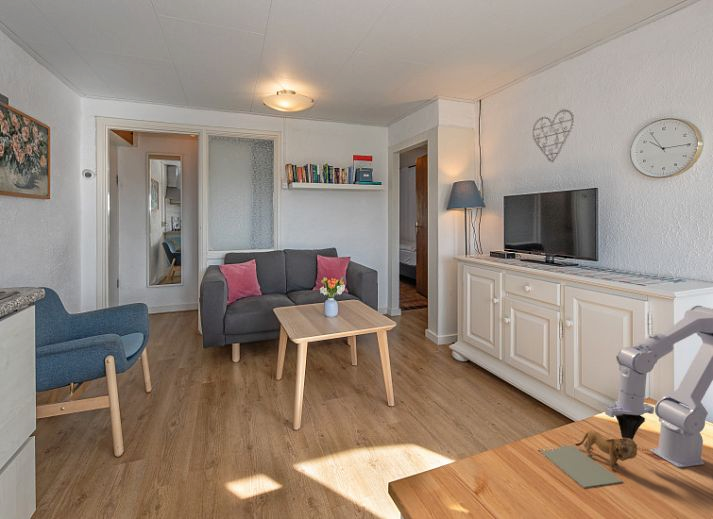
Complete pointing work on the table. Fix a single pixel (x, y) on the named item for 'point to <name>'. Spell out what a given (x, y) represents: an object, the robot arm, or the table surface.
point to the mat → (580, 467)
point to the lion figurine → (610, 447)
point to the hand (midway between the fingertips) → (626, 439)
